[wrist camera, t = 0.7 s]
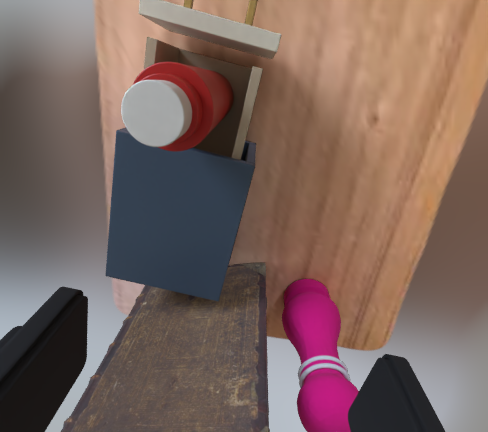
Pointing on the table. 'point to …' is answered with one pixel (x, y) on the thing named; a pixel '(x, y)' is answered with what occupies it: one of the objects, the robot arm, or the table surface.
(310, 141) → the table surface
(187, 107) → the ketchup bottle
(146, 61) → the drawer
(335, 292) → the table surface
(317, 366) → the pepper mill
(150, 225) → the dark blue angular piece
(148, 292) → the book
